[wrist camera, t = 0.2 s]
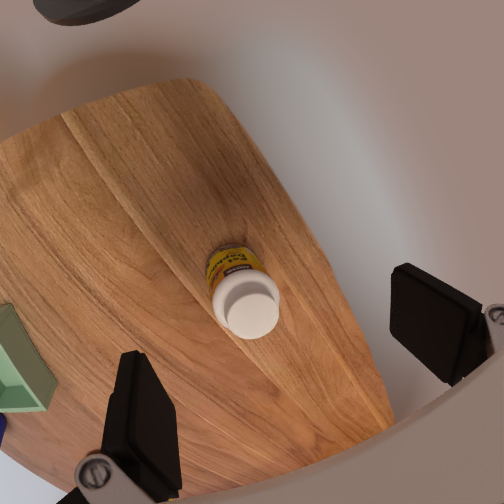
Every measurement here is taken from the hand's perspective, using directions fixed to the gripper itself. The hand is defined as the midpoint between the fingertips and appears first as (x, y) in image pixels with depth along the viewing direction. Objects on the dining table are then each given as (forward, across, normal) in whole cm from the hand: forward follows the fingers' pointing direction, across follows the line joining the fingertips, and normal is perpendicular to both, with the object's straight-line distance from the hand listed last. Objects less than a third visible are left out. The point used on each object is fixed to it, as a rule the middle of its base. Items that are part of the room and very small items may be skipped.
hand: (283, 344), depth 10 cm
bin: (+21, +33, +8) cm, 40 cm away
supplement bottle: (+21, 0, +5) cm, 21 cm away
